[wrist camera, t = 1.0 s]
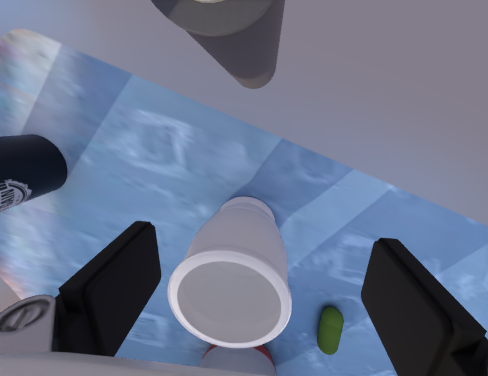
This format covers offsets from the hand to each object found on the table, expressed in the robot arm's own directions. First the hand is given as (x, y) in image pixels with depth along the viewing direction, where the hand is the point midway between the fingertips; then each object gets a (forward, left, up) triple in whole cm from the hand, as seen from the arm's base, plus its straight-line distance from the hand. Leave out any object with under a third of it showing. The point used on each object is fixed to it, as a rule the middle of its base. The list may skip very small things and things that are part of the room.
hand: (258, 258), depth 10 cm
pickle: (+26, +12, -21) cm, 36 cm away
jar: (+9, -2, -21) cm, 23 cm away
